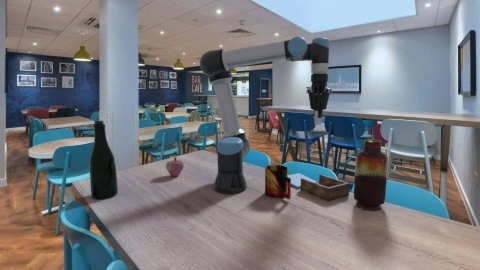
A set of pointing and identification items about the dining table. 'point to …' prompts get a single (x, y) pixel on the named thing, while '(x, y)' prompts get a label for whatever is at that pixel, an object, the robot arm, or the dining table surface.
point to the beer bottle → (102, 165)
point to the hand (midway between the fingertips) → (317, 124)
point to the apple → (174, 167)
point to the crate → (326, 188)
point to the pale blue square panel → (298, 180)
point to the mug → (277, 182)
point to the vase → (370, 176)
